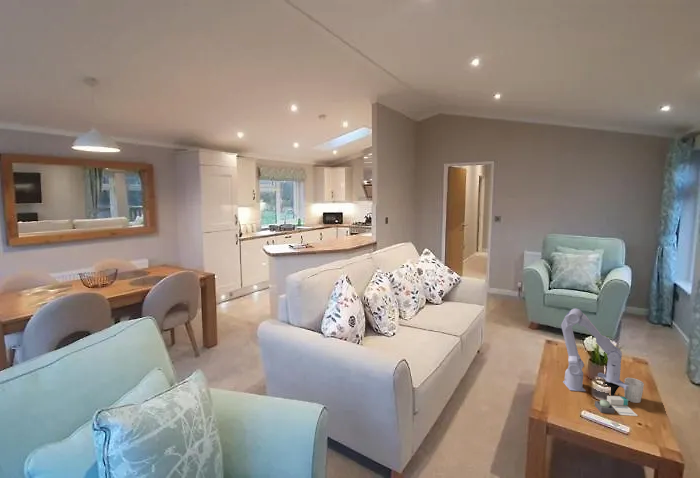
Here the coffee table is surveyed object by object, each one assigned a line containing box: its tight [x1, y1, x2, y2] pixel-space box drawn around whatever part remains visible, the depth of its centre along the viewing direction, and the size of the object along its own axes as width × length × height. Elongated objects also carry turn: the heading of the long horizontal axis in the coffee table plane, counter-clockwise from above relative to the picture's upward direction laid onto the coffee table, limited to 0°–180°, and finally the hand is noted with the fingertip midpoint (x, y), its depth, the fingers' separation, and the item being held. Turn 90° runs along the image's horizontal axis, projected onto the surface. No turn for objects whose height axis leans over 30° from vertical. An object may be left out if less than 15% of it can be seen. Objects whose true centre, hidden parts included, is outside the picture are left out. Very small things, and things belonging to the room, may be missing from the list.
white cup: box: [623, 377, 645, 404], centre depth 188 cm, size 8×8×10 cm
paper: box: [611, 405, 639, 417], centre depth 179 cm, size 8×8×1 cm
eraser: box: [606, 395, 629, 406], centre depth 184 cm, size 8×3×3 cm, turn 82°
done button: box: [599, 399, 610, 408], centre depth 180 cm, size 4×4×3 cm
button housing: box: [594, 400, 616, 414], centre depth 180 cm, size 6×6×2 cm
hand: (611, 395), depth 189 cm, fingers closed
